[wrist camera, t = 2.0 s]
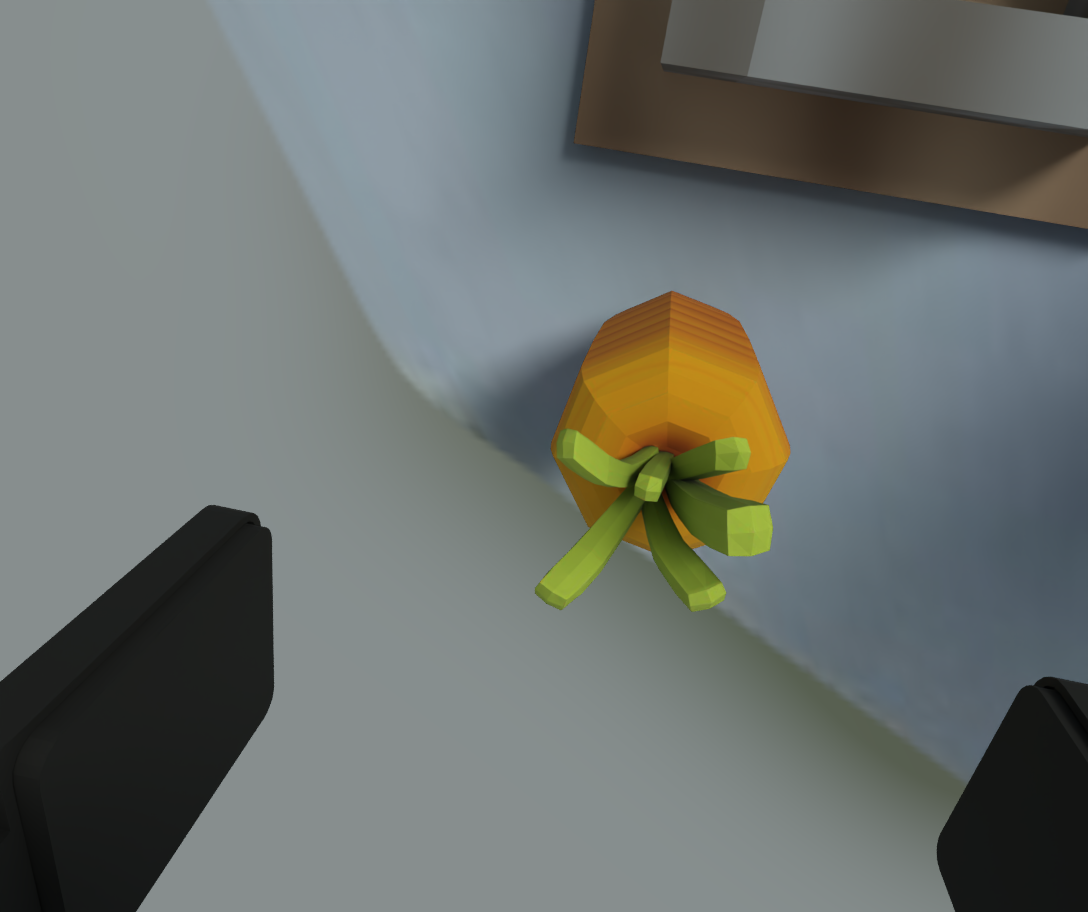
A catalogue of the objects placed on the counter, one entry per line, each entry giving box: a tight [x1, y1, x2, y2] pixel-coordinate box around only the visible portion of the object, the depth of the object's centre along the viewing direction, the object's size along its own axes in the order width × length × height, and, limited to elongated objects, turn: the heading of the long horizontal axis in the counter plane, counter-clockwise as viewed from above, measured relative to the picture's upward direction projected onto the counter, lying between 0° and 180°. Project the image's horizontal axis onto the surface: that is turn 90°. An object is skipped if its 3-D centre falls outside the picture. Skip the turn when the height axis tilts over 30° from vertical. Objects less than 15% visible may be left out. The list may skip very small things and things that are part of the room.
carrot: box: [535, 291, 790, 612], centre depth 18 cm, size 5×5×15 cm
